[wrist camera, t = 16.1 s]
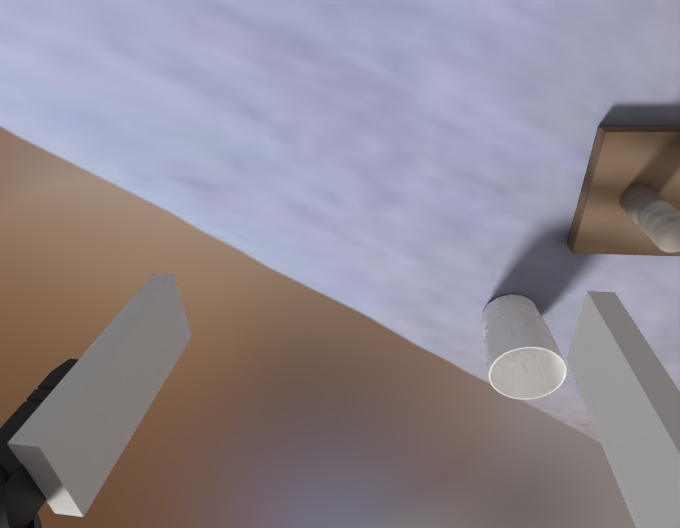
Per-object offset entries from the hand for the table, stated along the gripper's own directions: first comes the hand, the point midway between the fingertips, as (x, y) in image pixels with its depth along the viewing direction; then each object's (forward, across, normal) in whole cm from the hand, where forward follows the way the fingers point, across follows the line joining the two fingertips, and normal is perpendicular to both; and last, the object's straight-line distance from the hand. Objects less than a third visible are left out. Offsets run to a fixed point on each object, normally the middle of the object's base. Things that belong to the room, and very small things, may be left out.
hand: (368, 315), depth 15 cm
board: (+35, +30, -10) cm, 47 cm away
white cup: (+35, +15, -27) cm, 47 cm away
